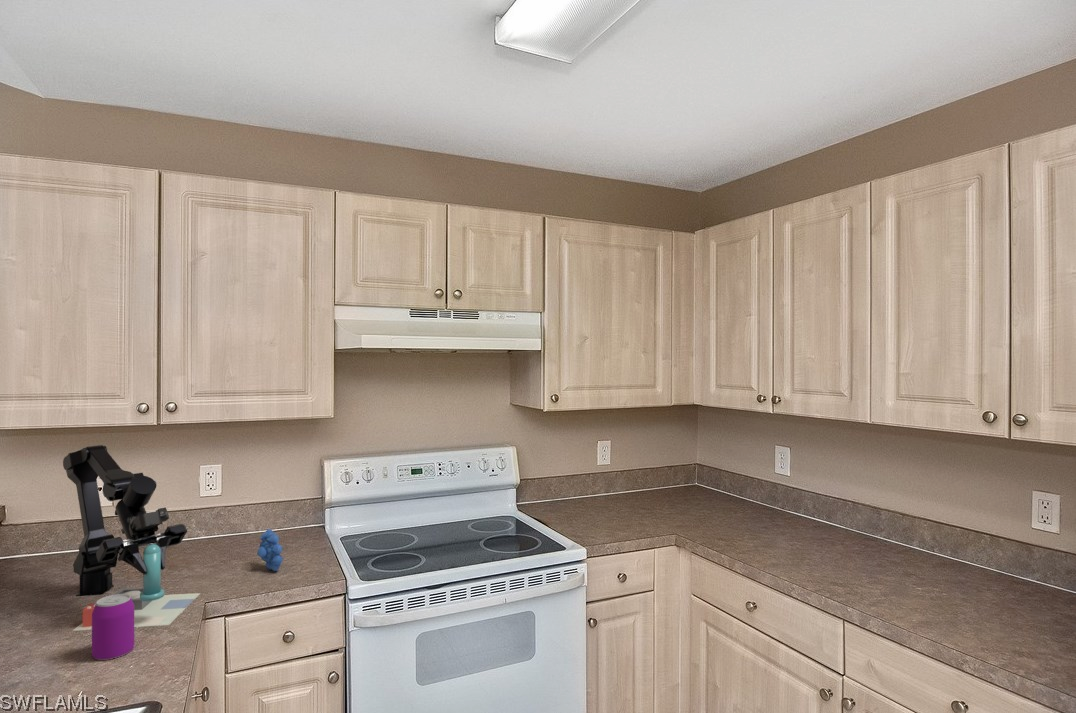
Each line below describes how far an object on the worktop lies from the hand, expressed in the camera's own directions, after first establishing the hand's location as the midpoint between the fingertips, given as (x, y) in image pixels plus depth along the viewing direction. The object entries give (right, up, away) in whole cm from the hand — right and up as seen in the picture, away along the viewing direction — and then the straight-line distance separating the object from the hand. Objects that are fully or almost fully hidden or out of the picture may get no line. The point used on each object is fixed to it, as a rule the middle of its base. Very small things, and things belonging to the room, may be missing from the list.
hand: (154, 571), depth 152 cm
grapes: (+11, -13, +37) cm, 41 cm away
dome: (-13, -12, +11) cm, 21 cm away
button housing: (-13, -12, +11) cm, 21 cm away
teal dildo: (-1, -7, +1) cm, 7 cm away
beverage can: (0, -13, -15) cm, 20 cm away
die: (-14, -12, 0) cm, 19 cm away
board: (-8, -13, +7) cm, 17 cm away
